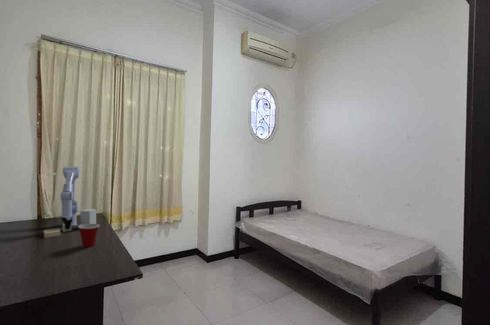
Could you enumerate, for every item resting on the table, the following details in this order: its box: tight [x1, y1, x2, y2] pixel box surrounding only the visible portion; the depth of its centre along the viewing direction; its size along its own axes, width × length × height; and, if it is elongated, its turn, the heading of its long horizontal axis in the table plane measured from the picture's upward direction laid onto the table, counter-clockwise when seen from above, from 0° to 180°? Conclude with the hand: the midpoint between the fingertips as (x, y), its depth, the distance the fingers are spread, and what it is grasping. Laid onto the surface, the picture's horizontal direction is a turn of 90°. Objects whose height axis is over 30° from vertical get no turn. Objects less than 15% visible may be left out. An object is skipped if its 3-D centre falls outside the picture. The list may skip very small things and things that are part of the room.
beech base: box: [43, 227, 61, 239], centre depth 165 cm, size 8×8×3 cm
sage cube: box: [62, 223, 72, 233], centre depth 176 cm, size 4×4×4 cm
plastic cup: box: [77, 223, 101, 248], centre depth 147 cm, size 11×11×12 cm
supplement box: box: [79, 208, 97, 225], centre depth 185 cm, size 7×7×13 cm
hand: (66, 228), depth 176 cm, fingers closed on sage cube, 4 cm apart
